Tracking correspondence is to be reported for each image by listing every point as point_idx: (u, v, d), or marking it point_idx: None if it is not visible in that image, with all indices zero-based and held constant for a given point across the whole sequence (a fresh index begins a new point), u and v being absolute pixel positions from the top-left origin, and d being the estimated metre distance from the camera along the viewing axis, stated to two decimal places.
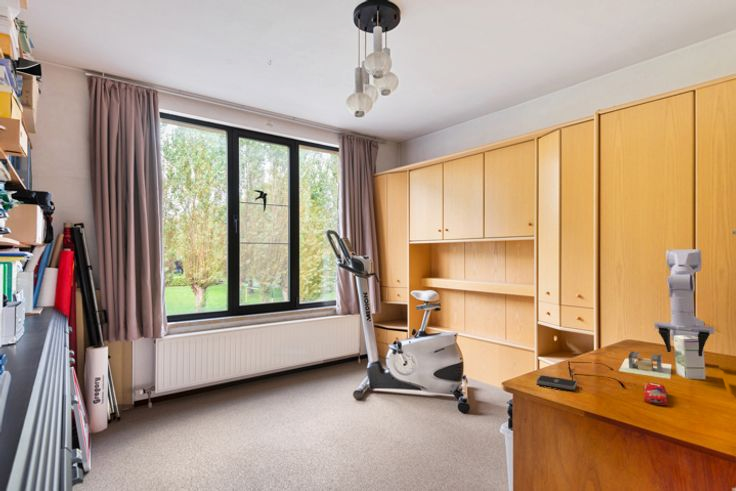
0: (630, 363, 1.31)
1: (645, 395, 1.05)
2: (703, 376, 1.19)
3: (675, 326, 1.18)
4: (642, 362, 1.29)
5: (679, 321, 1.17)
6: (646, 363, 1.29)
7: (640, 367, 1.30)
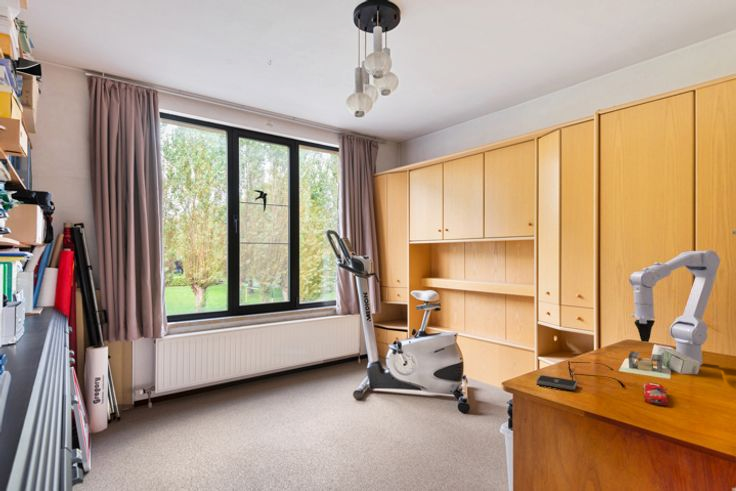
0: (630, 363, 1.31)
1: (646, 395, 1.05)
2: (693, 359, 1.26)
3: None
4: (642, 362, 1.29)
5: None
6: (646, 363, 1.29)
7: (640, 367, 1.30)
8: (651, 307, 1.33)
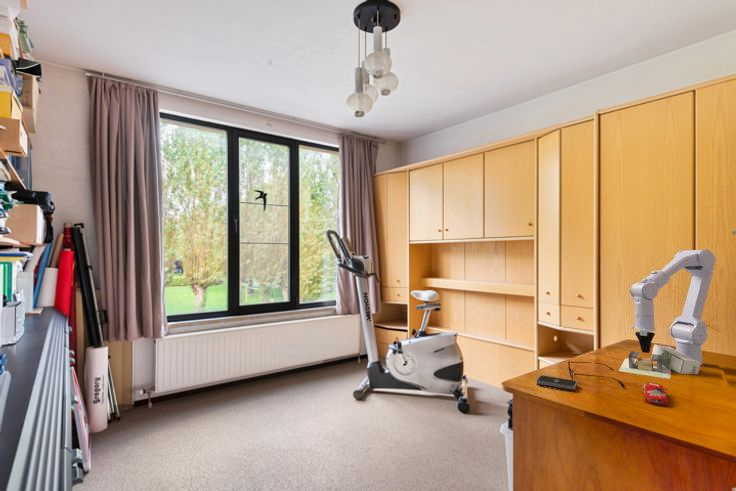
0: (630, 363, 1.31)
1: (646, 395, 1.05)
2: (693, 359, 1.26)
3: None
4: (642, 362, 1.29)
5: None
6: (646, 363, 1.29)
7: (640, 367, 1.30)
8: (652, 319, 1.33)
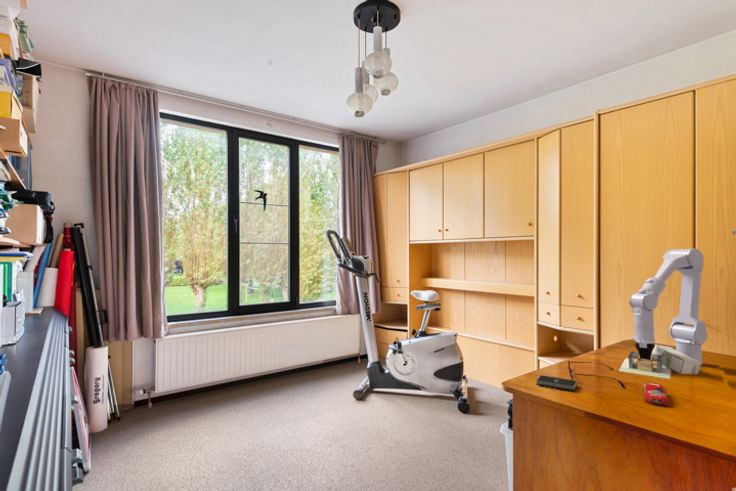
0: (630, 363, 1.31)
1: (646, 395, 1.05)
2: (693, 359, 1.26)
3: None
4: (642, 363, 1.28)
5: None
6: (646, 364, 1.28)
7: (639, 368, 1.29)
8: (651, 330, 1.31)
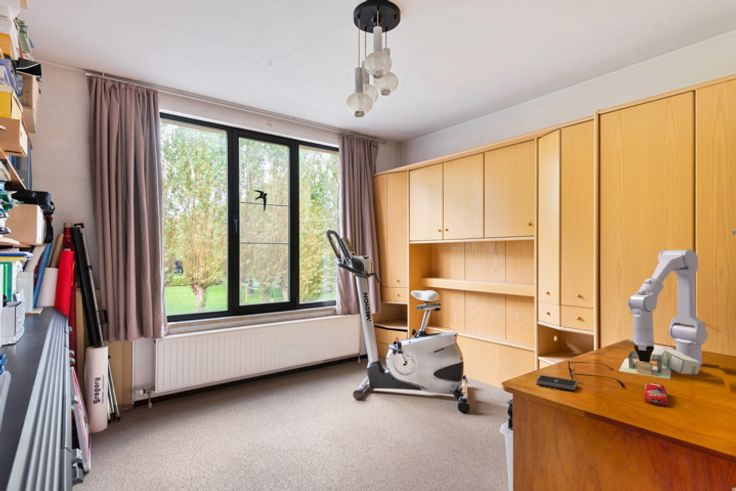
0: (630, 363, 1.31)
1: (645, 395, 1.05)
2: (693, 359, 1.26)
3: None
4: (641, 366, 1.25)
5: None
6: (645, 367, 1.24)
7: (638, 371, 1.26)
8: (651, 332, 1.27)
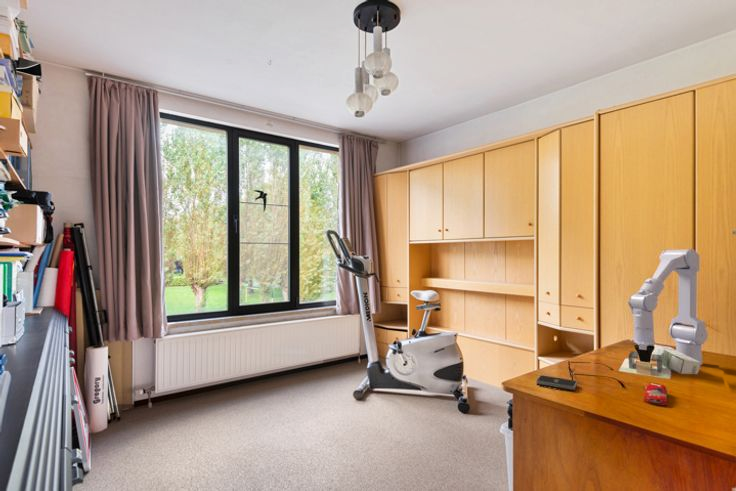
0: (630, 363, 1.31)
1: (645, 395, 1.05)
2: (693, 359, 1.26)
3: None
4: (641, 366, 1.25)
5: None
6: (645, 367, 1.24)
7: (638, 371, 1.26)
8: (651, 332, 1.28)
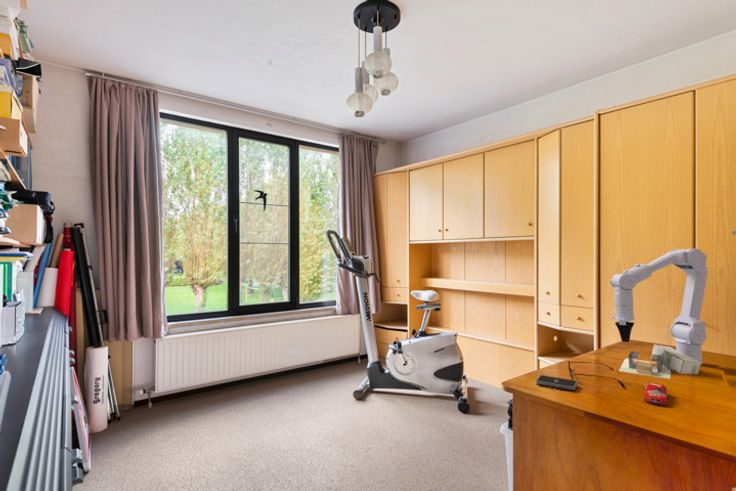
0: (630, 363, 1.31)
1: (645, 395, 1.05)
2: (693, 359, 1.26)
3: None
4: (641, 366, 1.25)
5: None
6: (645, 367, 1.24)
7: (638, 371, 1.26)
8: (631, 309, 1.36)
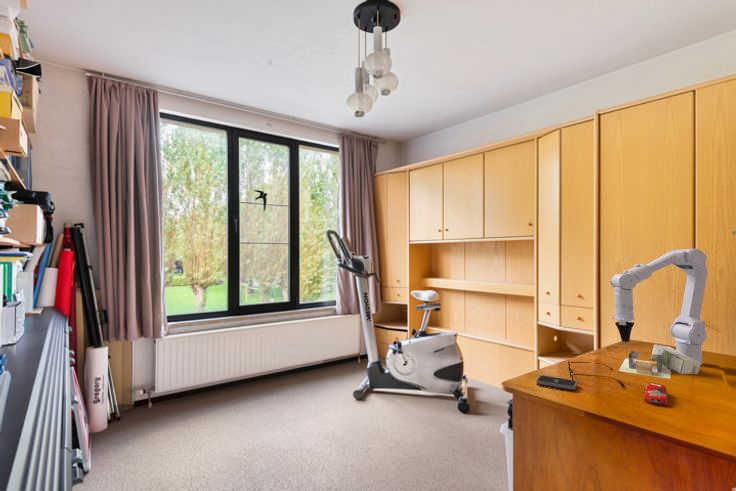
0: (630, 363, 1.31)
1: (645, 395, 1.05)
2: (693, 359, 1.26)
3: None
4: (641, 366, 1.25)
5: None
6: (645, 367, 1.24)
7: (638, 371, 1.26)
8: (631, 309, 1.36)
